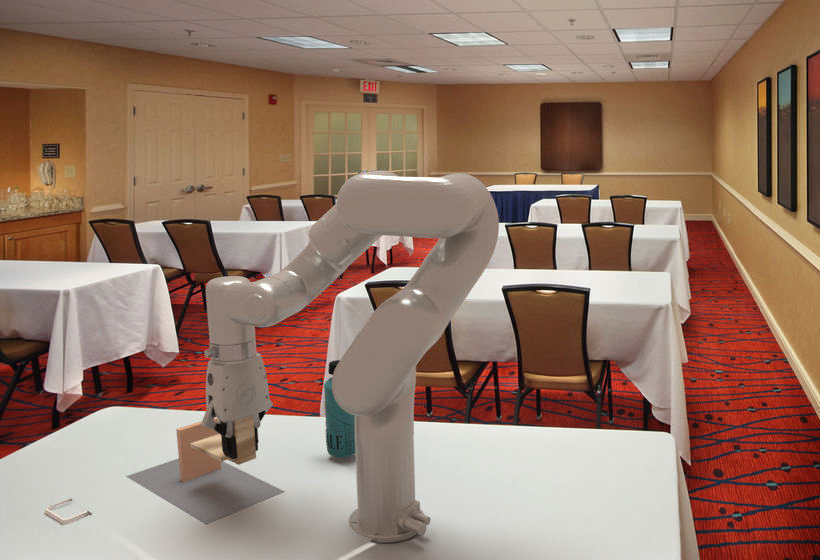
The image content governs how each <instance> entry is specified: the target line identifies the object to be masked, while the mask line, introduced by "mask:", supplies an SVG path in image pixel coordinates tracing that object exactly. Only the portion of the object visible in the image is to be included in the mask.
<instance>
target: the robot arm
mask: <svg viewBox="0 0 820 560" xmlns="http://www.w3.org/2000/svg"><path fill="white" fill-rule="evenodd" d="M337 193H338V194H337V196H336V200H335V202H336V203H335V204H334V205H333V206H332V207H331V208H330V209H329V210H328V211H326V213H324V214H323V215H322V216H320V218H319V219H318V220H317V221H316V222H314V224H313V225H311V227H310V229H309V231H308V238H309V242H308V244H306V246H305V248H304V249H303V250H302V251H301V252H300V253H299V254H298V255H297V256H296V257H295V258H294V259H293V260H292V261H291V262H289V263H288V264H287V265H286V266H285V267H284V268H283V269H281V270H280V271H279V272H277V273H273V274H271V275H269V276H266V277H264V278H262V279H259V280H256V281H252V282H251V281H250V280H249V279H248V278H247V277H244V276H239V275H229V276H219V277H215V278H213V279H210V280H209V281H208V282H207V283H206V285H205V298H206V299H205V300H206V310H207V311H206V312H207V314H206V315H207V324H208V335H209V343H208V346H209V348H208V349H205V350H204V351H203V353H204V357H205V358H206V359H208V358H210V360H209V361H207V368H206V378H205V403H206V404H205V405H206V410H205V412H204V415H203V418H202V420H201V421H202V423H201V424H202V426H204V427H207V428H210V429H213V430H215V431H216V432H218V434H220V435H221V440H222V451H223V453H224V455H225V456H227V457H229V458H231V459H236V458H237V450H236V438H235V436H233V435H232V434H233V421H235V420H238V419H241V418H244V417H247V416H250V415H253V418H254V432H255V447H256V452H258V450H259V430H258V429H259V428H260V427H261V422H262V421H263V419H264V417H265V415H266V413H267V412H268V411H269V410H270V409H271V408H272V407H273V401H272V400H271V399H270V391H269V390H270V389H269V384H268V383H269V382H268V378H267V371H266V368H265V364H264V360H263V357H262V355H261V353H259V352H257V343H256V342H257V341H256V328H255V327H259V328H268V327H271V326H274V325H277V324H279V323H280V322H282V321H284V320H285V319H287V318H289V317H291V316H293V315H296V314H298V313H299V312H300V311H302V310H303V309H305V308H306V307H307V306H308V305H310V304H311V303H312V302H313V301H314V300H315V299H316V298H317V297H318V296H319V295H320V294H322V293H323V292H324V291H325V290H326V289H327V288H328V287H329V286H330V285H332V284H333V283H334V282H335V280H337V279H338V278H339V276H341V275H342V274H343V273H344V272H346V270H347V269H348V267H349V266H351V265H352V264H353V263H354V262H355V261H356V260H357V259H359V258H360V257H361V256H362V255H363V253H365V252H366V251H367V250H368V249H369V248H370V247H372V246H373V245H374V244H375V243H376V242H377V241H378V240H379V239H381V238H382V237H383V236H391V237H408V238H421V239H437V242H436V243H435V244H434V245H433V247H432V248H431V249H430V251H429V252H428V253H427V255H426V256H425V258H424V259H423V261H422V263H421V265H420V266H419V267H418V269H417V270H416V272H414V274H413V276H412V277H411V278H410V280H409V281H408V282H407V284H405V286H404V287H403V288H402V289H401V290H399V291H397V292H396V293H394V295H392V296H391V297H388V298H387V299H386V300H384V301H383V302H381V304H380V305H378V307H377V308H376V309H375V310H374V311H373V312H372V314H371V315H370V316H369V318H368V319H367V320H366V322H365V324H364V325H363V326H362V328H361V330H360V331H359V332H358V334H357V335H356V336H355V338H354V340H352V342H351V343H350V345H349V347H348V348H347V350H346V351H345V353H344V354H343V355H342V357H341V359H339V360H340V361H339V363H338V365H337V366H336V368H335V371H334V373H333V375H332V376H331V377H332V392H333V395H334V398H335V400H336V402H337V403H338V405H339V406H340V407H341V408H342V409H343V410H344V411H346V412H347V413H349V414H352V415H355V453H356V454H355V470H356V471H355V473H356V499H357V501H356V502H357V504H356V505H357V508H355V510H353V511H352V512H351V514H350V515H349V517H348V525H349V527H350V528H351V529H352V530H353V532H355V533H356V534H359V535H361V536H364V537H368V538H372V539H371V540H370V542H371V543H372V542H373V543H384V544H385V543H386V544H387V543H395V542H397V543H398V542H401V541H404V540H405V541H406V540H408V539H410V538H413V537H415V536H416V535H419V536H424V534H425V533H426V531H427V527H428V526H429V524H430V523H431V517H430V516H428V515H426V514H425V513H424V511H423V510H422V509H421V502H420V501H419V500H417V499H416V480H415V479H416V475H415V474H416V473H415V471H416V470H415V443H414V442H415V437H414V436H415V435H414V434H415V428H414V425H415V423H414V421H415V419H414V418H415V417H414V412H415V410H414V409H415V408H414V407H415V391H416V382H417V380H416V379H417V365H418V363H419V362H420V360H422V358H423V357H424V356H425V354H426V353H427V352H428V350H430V349H431V348H433V345H435V344H436V343H437V342H438V341H439V340H440V338H441V337H442V336H443V333H444V332H445V330H446V328H447V327H448V325H449V323H450V322H451V320H452V319H453V317H454V316H455V315H456V313H457V312H458V310H459V309H460V307H461V306H462V304H463V303H464V302H465V300H466V299H467V297H468V295H469V294H470V293H471V291H472V289H473V288H474V287H475V286H476V284H477V282H478V281H479V280H480V278H481V276H482V275H483V273H484V272H485V270H486V269H487V267H488V265H489V263H490V261H491V260H492V257H493V255H494V252H495V249H496V247H497V243H498V238H499V229H500V226H499V225H500V221H499V213H498V209H497V206H496V203H495V201H494V198H493V196H492V194H491V192H490V191H489V189H488V187H487V186H486V184H484V183H483V182H482V181H481V180H480V179H478V178H476V177H475V176H473V175H470V174H467V173H450V174H446V175H443V176H438V177H436V176H435V177H429V176H427V177H425V176H423V177H422V176H399V175H397V174H396V173H394V172H392V171H388V170H381V169H380V170H375V171H374V170H373V171H367V172H362V173H358V174H355V175H353V176H351V177H349V178H348V179H347V180H346V181H345V182H344V183H343V184H342V185H341V188H340V189H339V190H338V192H337ZM214 418H217V419H218V423H216V422H214Z"/></svg>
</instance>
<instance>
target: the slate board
mask: <svg viewBox="0 0 820 560" xmlns="http://www.w3.org/2000/svg"><path fill="white" fill-rule="evenodd" d="M126 478H127V479H130V480H131V481H132V482H135V483H137V484H138V485H140V486H141V487H142V488H145V489H146V490H147V491H150V492H151V493H153V494H155V495H156V496H158V497H160V498H161V499H163V500H165V501H167V502H168V503H170V504H172V505H173V506H175V507H176V508H178V509H180V510H181V511H183V512H185V513H186V514H188V515H189V516H191V517H193V518H194V519H196V520H198V521H200V522H202V523H203V524H205V525H209V524H211V523H214V522H216V521H218V520H220V519H221V520H222V519H223V518H226V517H227V516H230V515H233V514H235V513H237V512H240V511H242V510H245V509H247V508H249V507H252V506H254V505H257V504H260V503H261V502H264V501H267V500H268V499H271V498H274V497H275V496H278V495H280V494H283V493H285V492H286V491H285V490H283V489H281V488H279V487H277V486H275V485H273V484H271V483H269V482H267V481H265V480H262V479H260V478H258V477H256V476H254V475H252V474H250V473H248V472H245V471H244V470H241V469H239V468H238V467H236V466H233V465H231V464H229V463H227V462H225V461H222V462H221V469H218V470H215V471H212V472H210V473H207V474H204V475H202V476H199V477H196V478H193V479H191V480H188V481H185V482H183V481H181V479H180V467H179V457H178V458H175V459H173V460H170V461H167V462H164V463H161V464H158V465H156V466H152V467H149V468H146V469H144V470H143V469H142V470H140V471H137V472H135V473H132V474H129V475H126Z"/></svg>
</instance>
